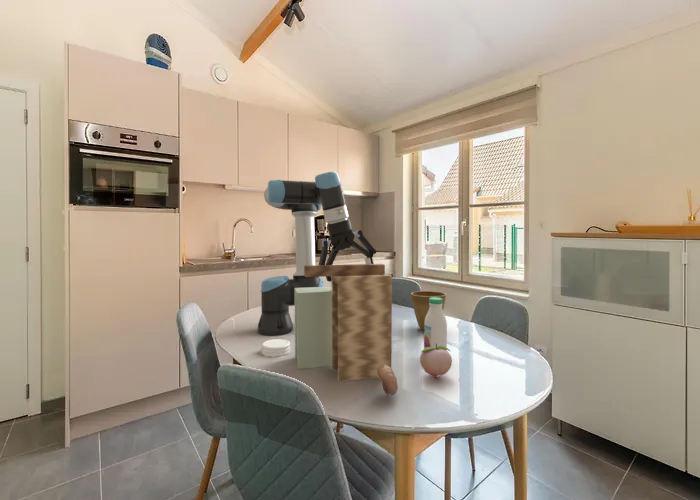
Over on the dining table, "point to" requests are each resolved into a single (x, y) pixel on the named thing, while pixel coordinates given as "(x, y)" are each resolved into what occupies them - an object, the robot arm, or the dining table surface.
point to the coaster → (275, 347)
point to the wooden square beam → (344, 270)
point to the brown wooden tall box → (361, 325)
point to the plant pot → (424, 304)
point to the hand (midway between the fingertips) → (353, 283)
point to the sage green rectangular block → (313, 327)
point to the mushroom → (387, 379)
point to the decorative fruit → (436, 360)
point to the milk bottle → (435, 324)
